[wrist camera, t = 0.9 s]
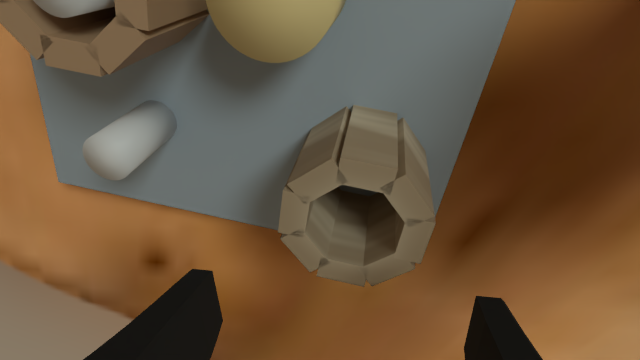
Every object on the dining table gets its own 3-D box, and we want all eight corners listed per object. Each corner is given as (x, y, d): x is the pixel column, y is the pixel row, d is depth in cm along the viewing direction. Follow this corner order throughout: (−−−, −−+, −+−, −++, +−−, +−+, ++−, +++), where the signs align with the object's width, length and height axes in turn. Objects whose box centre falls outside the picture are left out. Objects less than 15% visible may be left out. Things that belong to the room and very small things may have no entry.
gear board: (542, -106, 14) (641, -136, 8) (417, 243, 23) (424, 345, 17) (7, -194, 15) (-223, -273, 10) (76, 168, 24) (-24, 241, 18)
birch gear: (438, 121, 17) (451, 180, 13) (405, 221, 20) (408, 296, 16) (313, 96, 18) (288, 146, 13) (299, 198, 20) (273, 266, 16)
